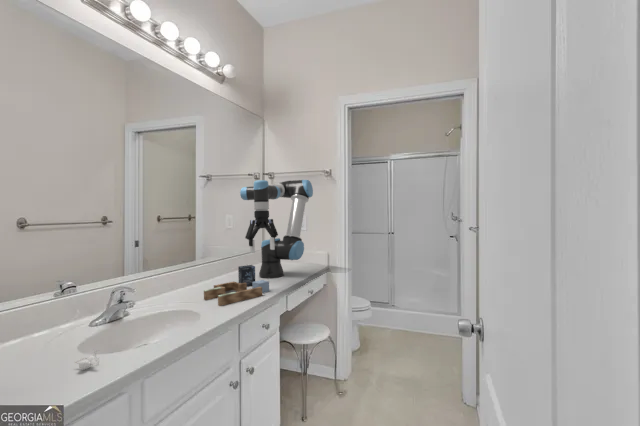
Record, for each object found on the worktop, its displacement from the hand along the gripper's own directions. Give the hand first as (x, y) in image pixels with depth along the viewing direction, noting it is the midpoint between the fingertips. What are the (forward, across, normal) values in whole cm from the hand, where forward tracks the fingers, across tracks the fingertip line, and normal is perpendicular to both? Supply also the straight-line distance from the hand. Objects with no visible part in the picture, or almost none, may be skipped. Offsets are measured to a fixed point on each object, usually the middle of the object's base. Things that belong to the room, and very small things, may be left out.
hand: (262, 251), depth 164 cm
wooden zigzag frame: (+20, +19, -3) cm, 27 cm away
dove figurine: (+19, +83, +25) cm, 89 cm away
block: (+20, +4, +2) cm, 20 cm away
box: (+20, -1, -14) cm, 25 cm away
